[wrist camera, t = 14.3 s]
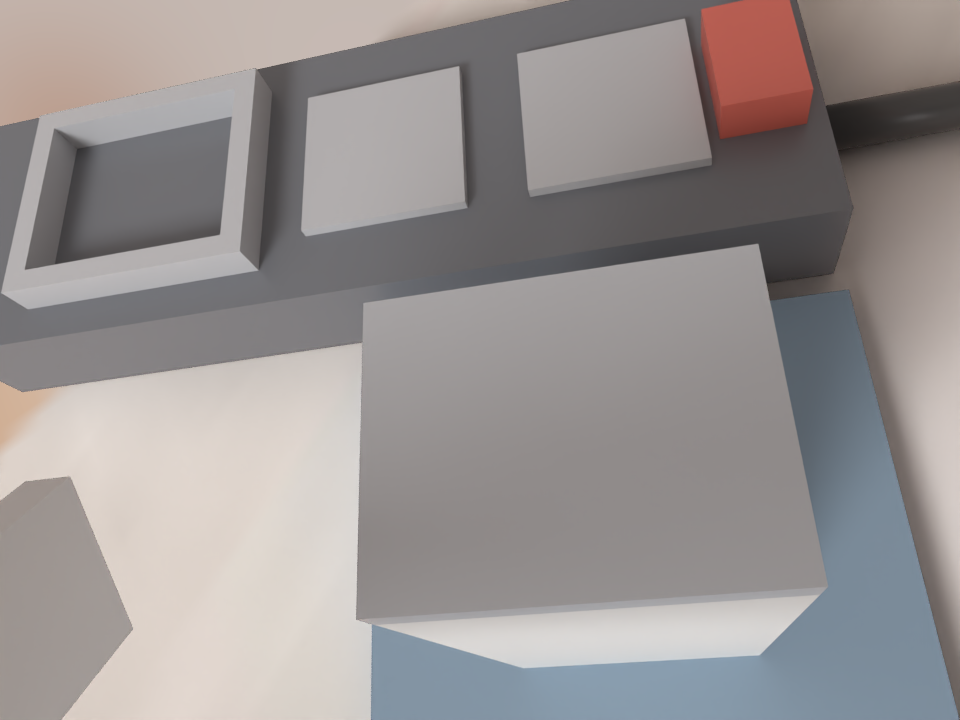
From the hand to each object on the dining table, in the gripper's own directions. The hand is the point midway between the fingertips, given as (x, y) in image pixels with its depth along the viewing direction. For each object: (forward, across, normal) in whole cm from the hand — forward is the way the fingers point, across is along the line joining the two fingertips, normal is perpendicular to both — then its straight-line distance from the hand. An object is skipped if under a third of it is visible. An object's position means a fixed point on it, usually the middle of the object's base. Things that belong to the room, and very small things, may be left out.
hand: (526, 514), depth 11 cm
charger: (+6, +1, -5) cm, 8 cm away
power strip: (+15, -1, +2) cm, 15 cm away
